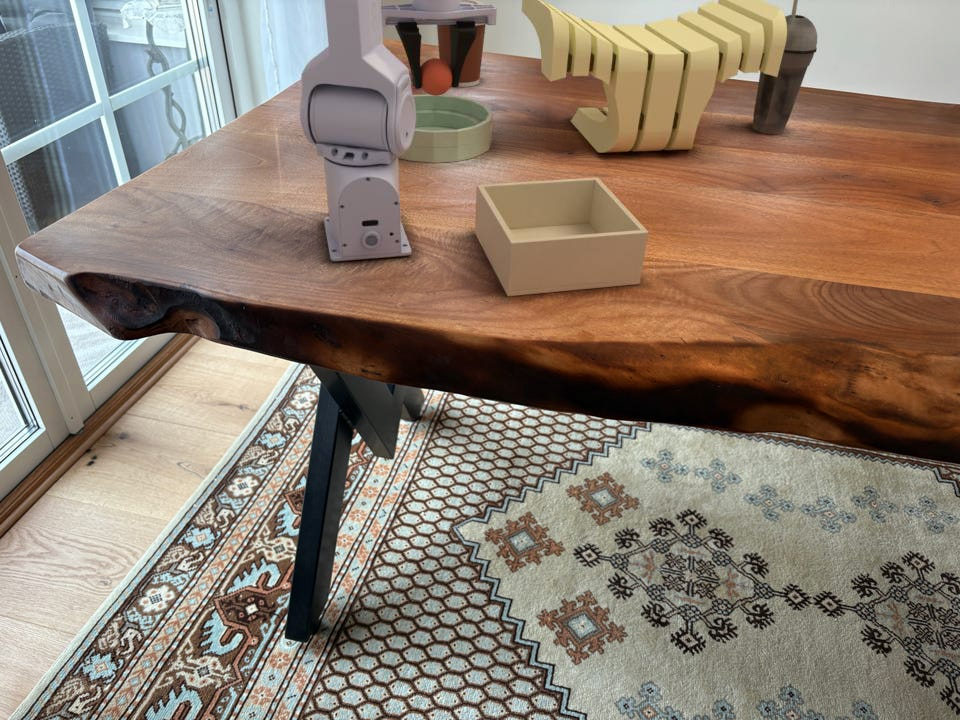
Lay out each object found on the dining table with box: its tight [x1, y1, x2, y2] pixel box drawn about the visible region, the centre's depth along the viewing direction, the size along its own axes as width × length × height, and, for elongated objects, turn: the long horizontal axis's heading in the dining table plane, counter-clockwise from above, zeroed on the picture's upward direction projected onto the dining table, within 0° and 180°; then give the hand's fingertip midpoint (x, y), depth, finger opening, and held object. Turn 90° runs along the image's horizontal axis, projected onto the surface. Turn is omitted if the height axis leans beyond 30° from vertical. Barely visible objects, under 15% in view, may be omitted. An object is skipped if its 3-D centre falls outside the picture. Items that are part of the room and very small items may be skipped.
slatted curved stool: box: [521, 0, 787, 154], centre depth 102 cm, size 30×16×18 cm, turn 101°
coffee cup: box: [436, 0, 487, 88], centre depth 124 cm, size 9×9×12 cm
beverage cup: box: [751, 0, 818, 135], centre depth 107 cm, size 7×7×20 cm
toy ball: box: [420, 57, 453, 96], centre depth 96 cm, size 4×4×4 cm
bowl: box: [398, 93, 494, 164], centre depth 101 cm, size 15×15×4 cm
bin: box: [474, 176, 649, 297], centre depth 76 cm, size 13×13×6 cm
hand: (435, 85), depth 97 cm, fingers closed on toy ball, 4 cm apart
